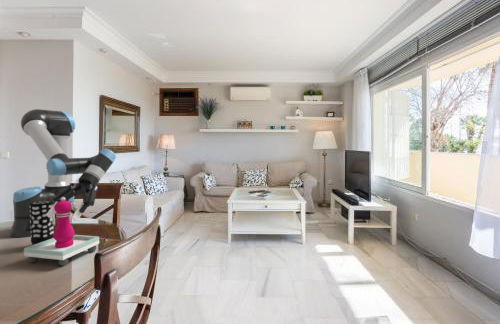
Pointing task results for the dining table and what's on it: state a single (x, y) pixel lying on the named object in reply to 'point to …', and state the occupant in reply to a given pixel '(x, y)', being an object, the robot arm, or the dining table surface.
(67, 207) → the pepper mill
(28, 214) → the robot arm
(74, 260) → the dining table surface
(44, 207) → the white-spotted black cylinder
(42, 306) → the dining table surface
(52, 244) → the rolling base
